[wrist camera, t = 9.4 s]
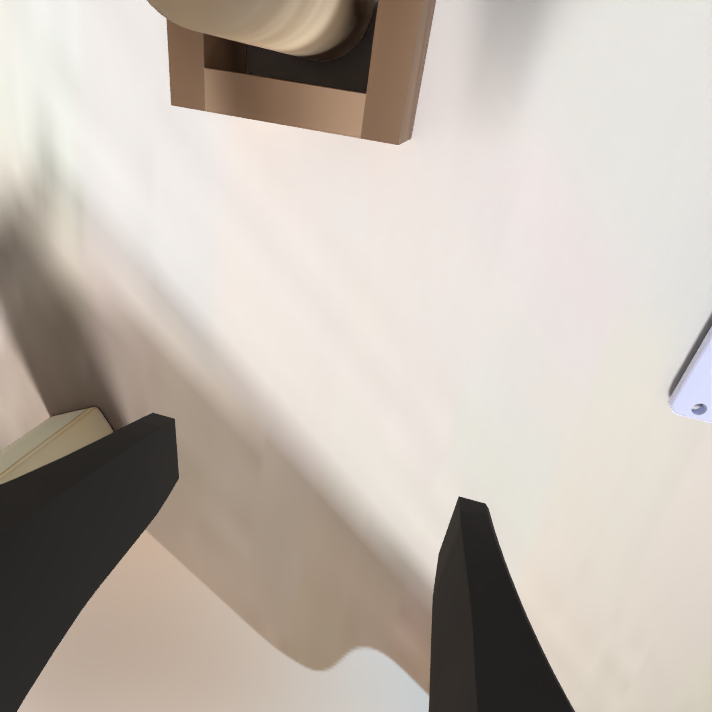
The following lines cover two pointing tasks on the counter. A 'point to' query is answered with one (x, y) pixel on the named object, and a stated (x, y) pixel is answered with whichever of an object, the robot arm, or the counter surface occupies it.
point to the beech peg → (277, 23)
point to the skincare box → (52, 441)
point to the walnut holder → (303, 100)
